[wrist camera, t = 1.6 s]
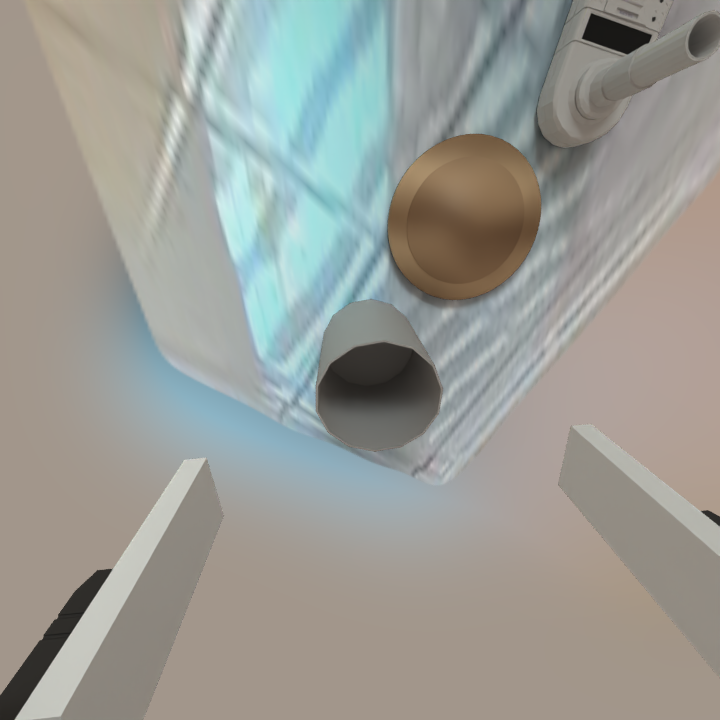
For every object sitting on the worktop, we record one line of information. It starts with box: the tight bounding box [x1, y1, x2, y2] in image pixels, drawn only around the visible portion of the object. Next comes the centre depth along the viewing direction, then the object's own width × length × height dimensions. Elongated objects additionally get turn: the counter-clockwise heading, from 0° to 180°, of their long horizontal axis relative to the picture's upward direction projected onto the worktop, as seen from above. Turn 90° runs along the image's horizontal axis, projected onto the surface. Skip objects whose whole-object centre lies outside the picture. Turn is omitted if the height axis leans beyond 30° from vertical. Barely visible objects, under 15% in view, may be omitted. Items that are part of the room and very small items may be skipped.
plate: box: [388, 134, 541, 300], centre depth 26 cm, size 12×12×1 cm
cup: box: [316, 299, 443, 452], centre depth 26 cm, size 8×8×10 cm
